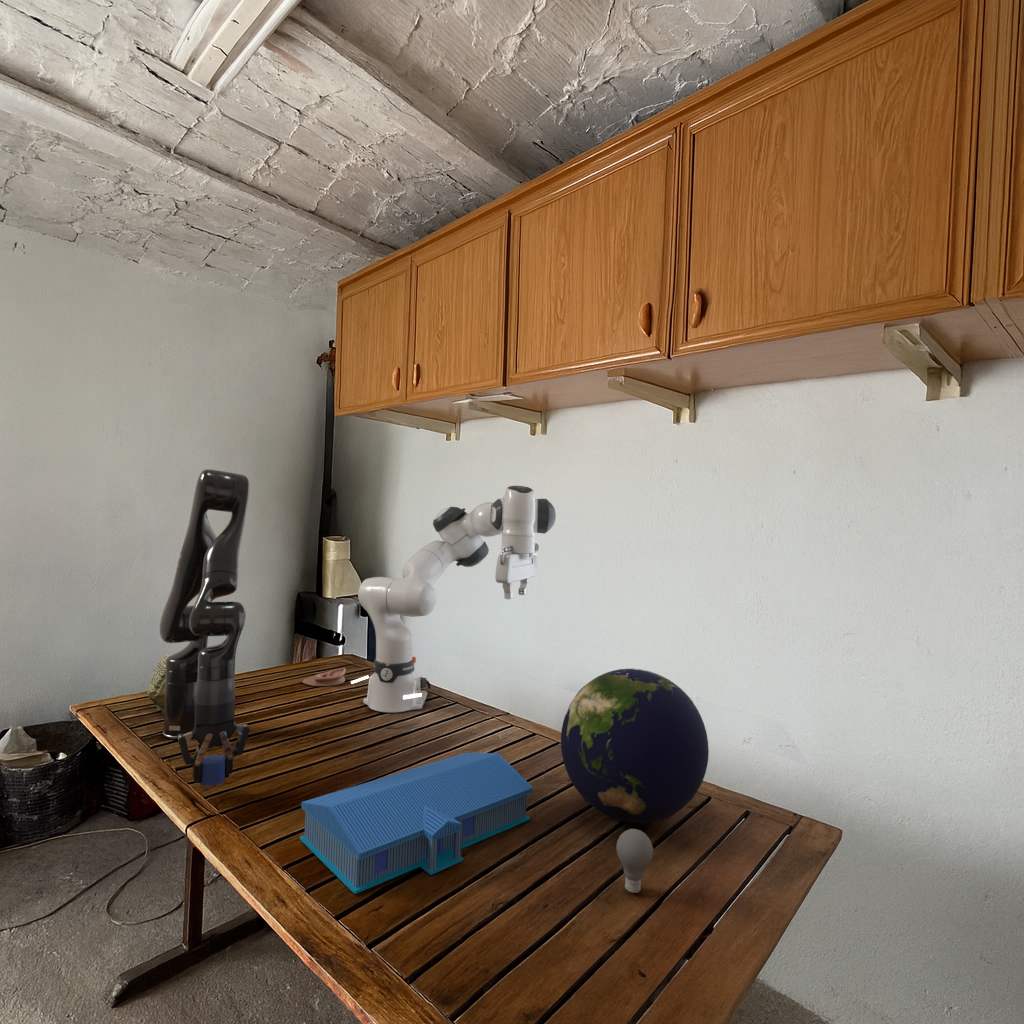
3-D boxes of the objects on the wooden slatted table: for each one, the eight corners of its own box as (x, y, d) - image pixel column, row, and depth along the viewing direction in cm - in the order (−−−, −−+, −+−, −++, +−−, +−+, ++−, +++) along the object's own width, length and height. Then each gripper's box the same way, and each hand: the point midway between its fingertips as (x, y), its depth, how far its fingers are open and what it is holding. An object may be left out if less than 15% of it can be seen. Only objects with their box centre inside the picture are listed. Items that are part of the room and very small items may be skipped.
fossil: (144, 707, 182) (145, 655, 182) (212, 696, 194) (213, 647, 194) (151, 716, 175) (153, 662, 175) (221, 703, 188) (223, 653, 188)
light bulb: (610, 879, 108) (613, 822, 108) (644, 879, 109) (647, 822, 109) (619, 902, 102) (622, 840, 102) (655, 901, 103) (658, 840, 103)
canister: (194, 784, 130) (195, 762, 130) (209, 774, 134) (210, 753, 134) (215, 787, 129) (216, 765, 129) (229, 777, 134) (230, 756, 134)
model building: (364, 904, 99) (367, 841, 99) (298, 838, 117) (300, 784, 117) (541, 825, 125) (544, 775, 125) (465, 781, 144) (467, 737, 143)
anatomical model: (297, 672, 210) (315, 663, 221) (297, 684, 210) (314, 675, 221) (334, 676, 207) (350, 667, 219) (333, 688, 208) (349, 679, 219)
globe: (537, 831, 123) (544, 678, 123) (580, 772, 151) (585, 647, 150) (696, 871, 112) (704, 703, 111) (710, 800, 140) (717, 665, 139)
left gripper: (179, 708, 124) (176, 794, 125) (256, 697, 133) (253, 778, 133) (174, 697, 130) (171, 779, 131) (247, 688, 139) (245, 765, 139)
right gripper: (513, 548, 160) (510, 602, 161) (541, 544, 179) (539, 593, 179) (490, 546, 163) (488, 600, 163) (521, 543, 182) (519, 591, 182)
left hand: (212, 778), depth 132 cm, fingers closed on canister, 4 cm apart
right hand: (515, 596), depth 171 cm, fingers open, 8 cm apart
